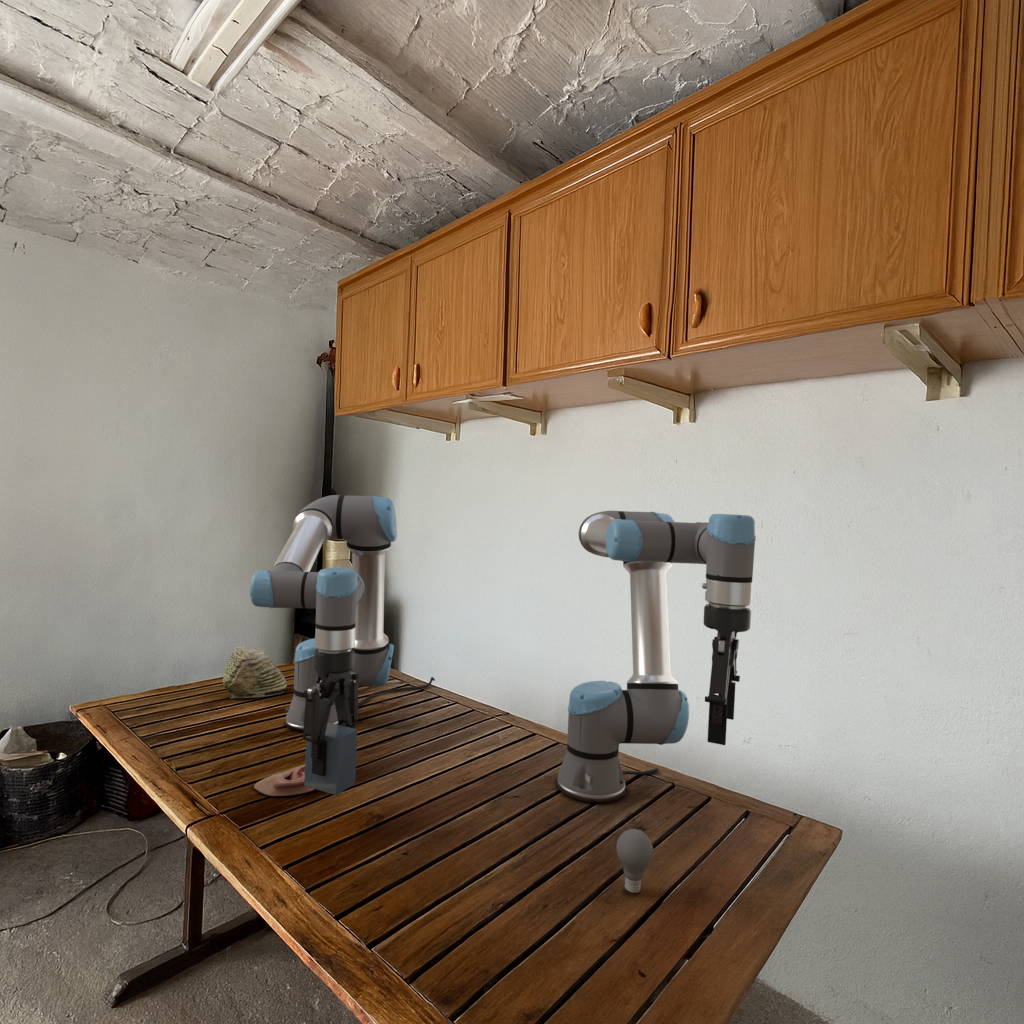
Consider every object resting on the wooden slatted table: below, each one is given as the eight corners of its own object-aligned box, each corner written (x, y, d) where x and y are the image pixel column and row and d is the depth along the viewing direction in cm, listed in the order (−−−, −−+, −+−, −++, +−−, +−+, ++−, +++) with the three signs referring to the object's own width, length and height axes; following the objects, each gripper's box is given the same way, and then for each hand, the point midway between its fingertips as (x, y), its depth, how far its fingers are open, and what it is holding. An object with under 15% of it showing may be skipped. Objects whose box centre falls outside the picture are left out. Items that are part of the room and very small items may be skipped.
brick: (324, 774, 127) (326, 721, 127) (355, 783, 124) (357, 729, 123) (304, 786, 122) (306, 730, 121) (336, 795, 118) (338, 738, 118)
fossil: (218, 695, 195) (220, 647, 195) (278, 685, 208) (279, 640, 207) (228, 703, 189) (230, 653, 188) (289, 692, 201) (290, 645, 201)
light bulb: (610, 879, 108) (613, 822, 108) (644, 879, 109) (647, 822, 109) (619, 902, 102) (622, 840, 102) (655, 901, 103) (658, 840, 103)
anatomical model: (246, 773, 134) (276, 753, 145) (245, 792, 134) (276, 770, 145) (303, 782, 131) (330, 760, 142) (302, 801, 131) (329, 777, 142)
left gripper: (350, 637, 132) (346, 747, 133) (283, 656, 115) (279, 782, 116) (380, 642, 129) (375, 754, 130) (316, 662, 112) (311, 791, 113)
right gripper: (713, 594, 120) (708, 705, 120) (693, 613, 97) (686, 750, 98) (755, 598, 117) (750, 712, 117) (745, 619, 94) (738, 760, 95)
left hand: (330, 767), depth 123 cm, fingers closed on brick, 6 cm apart
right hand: (721, 729), depth 107 cm, fingers open, 13 cm apart
